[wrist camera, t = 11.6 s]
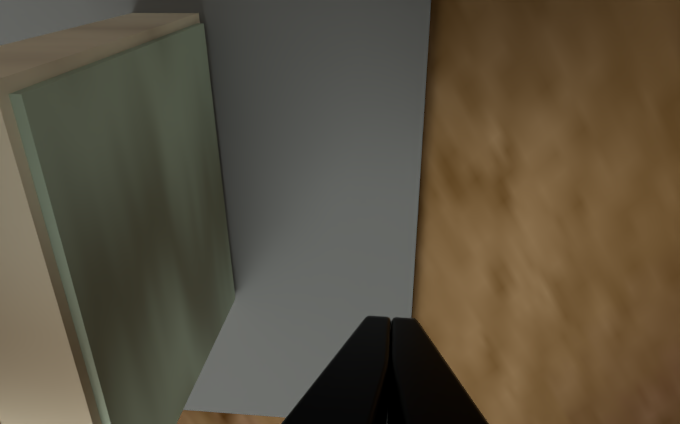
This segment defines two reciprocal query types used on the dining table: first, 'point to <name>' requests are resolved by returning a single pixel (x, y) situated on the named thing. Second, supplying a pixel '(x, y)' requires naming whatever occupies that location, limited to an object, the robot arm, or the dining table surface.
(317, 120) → the mat
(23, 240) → the tile
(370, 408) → the robot arm
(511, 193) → the dining table surface
